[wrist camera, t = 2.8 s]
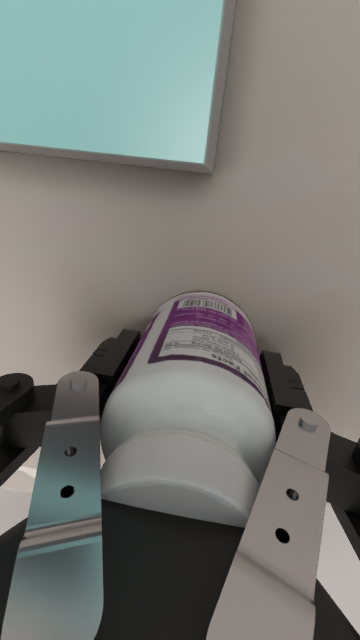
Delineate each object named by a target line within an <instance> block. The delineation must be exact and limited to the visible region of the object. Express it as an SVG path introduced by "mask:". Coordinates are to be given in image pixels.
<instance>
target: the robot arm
mask: <svg viewBox="0 0 360 640" xmlns="http://www.w3.org/2000/svg"><path fill="white" fill-rule="evenodd" d="M140 339H141V333H140V331H135V330H129V329H123V330H122V332H121V333H120V335H119V336H118V337H117V338H109V339H107V340H105V341H103V342H102V343H101V344H100V345H99V347H98V348H97V350H95V352H94V353H93V355H92V356H91V357H90V358H89V359H88V361H87V362H86V363H85V364H84V366H83V367H82V368H81V370H80V371H77V372H72V373H69V374H66V375H65V376H63V377H62V378H61V379H60V380H59V381H58V383H57V384H56V385H41V386H34V382H33V378H32V377H31V376H29V375H27V374H23V373H12V374H7V375H4V376H1V377H0V486H1V485H2V484H3V483H4V482H5V481H6V480H7V479H8V478H9V477H10V476H11V475H12V474H13V473H14V472H15V471H16V470H17V469H18V468H19V467H20V466H21V465H22V464H23V463H24V462H25V461H26V460H27V459H28V458H29V457H30V456H31V455H32V454H33V453H34V452H35V451H36V450H37V449H38V448H39V447H40V446H41V452H40V457H39V462H38V467H37V473H36V478H35V483H34V488H33V494H32V499H31V505H30V509H29V515H28V517H27V518H26V519H24V520H23V521H21V522H20V523H18V524H17V525H15V526H14V527H12V528H11V529H9V530H8V531H6V532H5V533H4V534H2V535H1V536H0V640H360V635H359V634H358V633H357V631H356V630H355V629H354V627H353V626H352V625H351V624H350V622H349V621H348V620H347V618H346V617H345V615H344V614H343V613H342V611H341V610H340V609H339V608H338V606H337V605H336V604H335V602H334V601H333V599H332V598H331V597H330V595H329V594H328V593H327V591H326V590H325V589H324V587H323V586H322V585H321V583H320V582H319V581H318V580H317V578H316V576H317V568H318V560H319V552H320V544H321V536H322V528H323V520H324V513H325V505H326V501H327V502H329V503H331V506H332V508H333V510H334V512H335V514H336V516H337V518H338V520H339V522H340V524H341V526H342V527H343V529H344V531H345V533H346V535H347V537H348V539H349V541H350V543H351V545H352V547H353V549H354V550H355V552H356V554H357V556H358V558H359V560H360V438H359V440H358V442H357V443H356V442H353V441H351V440H348V439H346V438H343V437H341V436H338V435H336V434H334V433H332V432H331V429H330V426H329V424H328V423H327V421H326V420H325V419H324V418H323V417H321V416H320V415H319V414H317V413H315V412H313V409H312V407H311V404H310V402H309V399H308V397H307V394H306V392H305V391H304V387H303V384H302V382H301V379H300V377H299V374H298V373H297V372H296V371H295V370H294V369H293V368H292V367H291V366H285V365H284V364H283V361H282V358H281V355H280V353H275V352H268V351H262V352H261V354H260V357H259V358H260V362H261V367H262V371H263V376H264V380H265V385H266V389H267V394H268V399H269V403H270V408H271V413H272V416H273V419H274V426H275V433H276V446H275V448H274V450H273V453H272V456H271V459H270V461H269V464H268V467H267V470H266V472H265V475H264V478H263V481H262V483H261V486H260V489H259V491H258V494H257V497H256V500H255V502H254V505H253V508H252V511H251V513H250V516H249V519H248V522H247V524H246V527H245V528H244V527H238V526H232V525H226V524H221V523H215V522H210V521H204V520H199V519H193V518H187V517H182V516H178V515H173V514H168V513H163V512H158V511H153V510H148V509H144V508H139V507H134V506H130V505H126V504H121V503H117V502H113V501H108V500H104V499H101V469H100V424H101V418H102V414H103V411H104V408H105V405H106V402H107V400H108V398H109V396H110V394H111V392H112V391H113V389H114V387H115V385H116V383H117V382H118V380H119V378H120V376H121V375H122V373H123V371H124V369H125V367H126V365H127V363H128V362H129V360H130V358H131V356H132V354H133V352H134V351H135V349H136V347H137V345H138V343H139V341H140Z"/></svg>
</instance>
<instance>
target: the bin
mask: <svg viewBox="0 0 360 640" xmlns="http://www.w3.org/2000/svg"><path fill="white" fill-rule="evenodd" d="M235 8H236V0H0V151H7V152H16V153H25V154H34V155H43V156H53V157H62V158H71V159H80V160H89V161H98V162H107V163H117V164H126V165H135V166H144V167H153V168H162V169H171V170H181V171H190V172H199V173H208V174H213V171H214V164H215V156H216V149H217V142H218V134H219V127H220V119H221V112H222V104H223V97H224V89H225V82H226V75H227V67H228V60H229V52H230V45H231V37H232V30H233V22H234V15H235Z"/></svg>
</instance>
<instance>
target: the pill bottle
mask: <svg viewBox="0 0 360 640" xmlns="http://www.w3.org/2000/svg"><path fill="white" fill-rule="evenodd" d="M100 441H101V446H102V451H103V454H104V457H105V460H106V461H105V463H104V464H103V466H102V469H101V499H104V500H108V501H113V502H117V503H121V504H126V505H130V506H134V507H139V508H144V509H148V510H153V511H158V512H163V513H168V514H173V515H178V516H182V517H187V518H193V519H199V520H204V521H210V522H215V523H221V524H226V525H232V526H238V527H244V528H245V527H246V524H247V522H248V519H249V516H250V513H251V511H252V508H253V505H254V502H255V500H256V497H257V494H258V491H259V489H260V486H261V483H262V481H263V478H264V475H265V472H266V470H267V467H268V464H269V461H270V459H271V456H272V453H273V450H274V448H275V446H276V433H275V426H274V419H273V416H272V413H271V408H270V403H269V399H268V394H267V389H266V385H265V380H264V376H263V371H262V367H261V362H260V358H259V353H258V349H257V345H256V340H255V336H254V332H253V329H252V326H251V324H250V322H249V320H248V318H247V317H246V315H245V314H244V313H243V312H242V310H241V309H240V308H239V307H238V306H236V305H235V304H234V303H232V302H231V301H229V300H228V299H226V298H224V297H222V296H219V295H216V294H212V293H207V292H193V293H186V294H182V295H178V296H176V297H174V298H172V299H170V300H169V301H167V302H165V303H164V304H163V305H162V306H161V307H160V308H159V309H158V310H157V311H156V313H155V314H154V316H153V317H152V319H151V321H150V322H149V324H148V326H147V328H146V330H145V332H144V334H143V336H142V337H141V339H140V341H139V343H138V345H137V347H136V349H135V351H134V352H133V354H132V356H131V358H130V360H129V362H128V363H127V365H126V367H125V369H124V371H123V373H122V375H121V376H120V378H119V380H118V382H117V383H116V385H115V387H114V389H113V391H112V392H111V394H110V396H109V398H108V400H107V402H106V405H105V408H104V411H103V414H102V418H101V424H100Z"/></svg>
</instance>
